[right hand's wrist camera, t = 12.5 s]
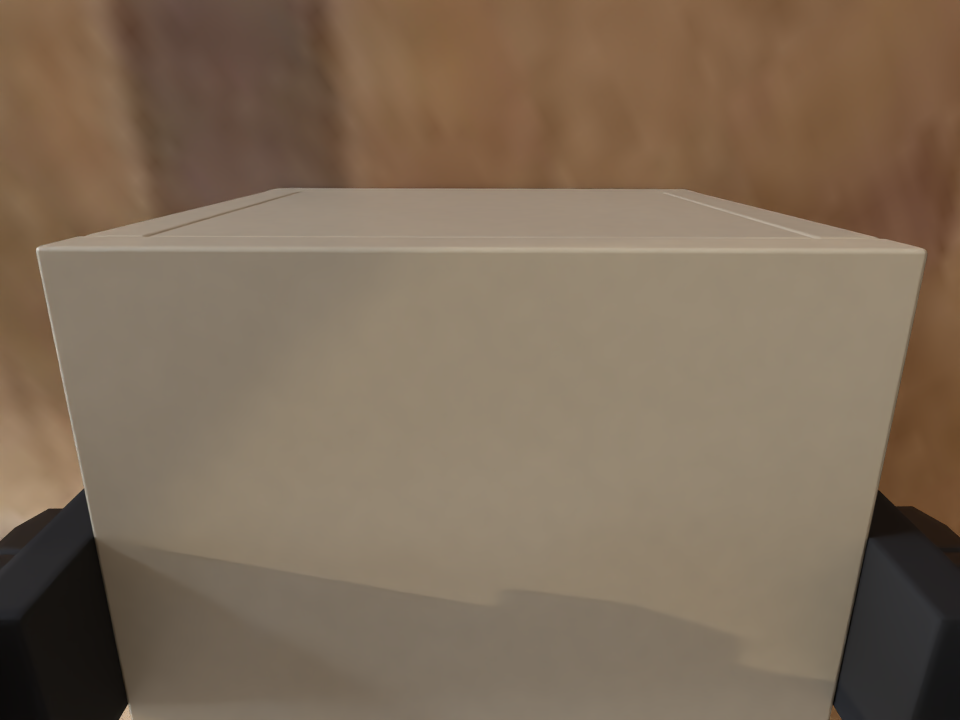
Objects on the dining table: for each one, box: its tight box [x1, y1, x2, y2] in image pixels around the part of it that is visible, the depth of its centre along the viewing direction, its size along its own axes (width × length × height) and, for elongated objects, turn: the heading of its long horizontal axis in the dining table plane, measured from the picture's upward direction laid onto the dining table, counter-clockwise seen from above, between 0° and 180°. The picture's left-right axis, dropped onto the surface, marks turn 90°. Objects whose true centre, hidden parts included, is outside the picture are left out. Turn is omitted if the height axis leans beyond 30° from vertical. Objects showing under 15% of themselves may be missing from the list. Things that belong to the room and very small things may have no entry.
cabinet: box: [36, 188, 927, 720], centre depth 15 cm, size 19×10×9 cm, turn 0°
